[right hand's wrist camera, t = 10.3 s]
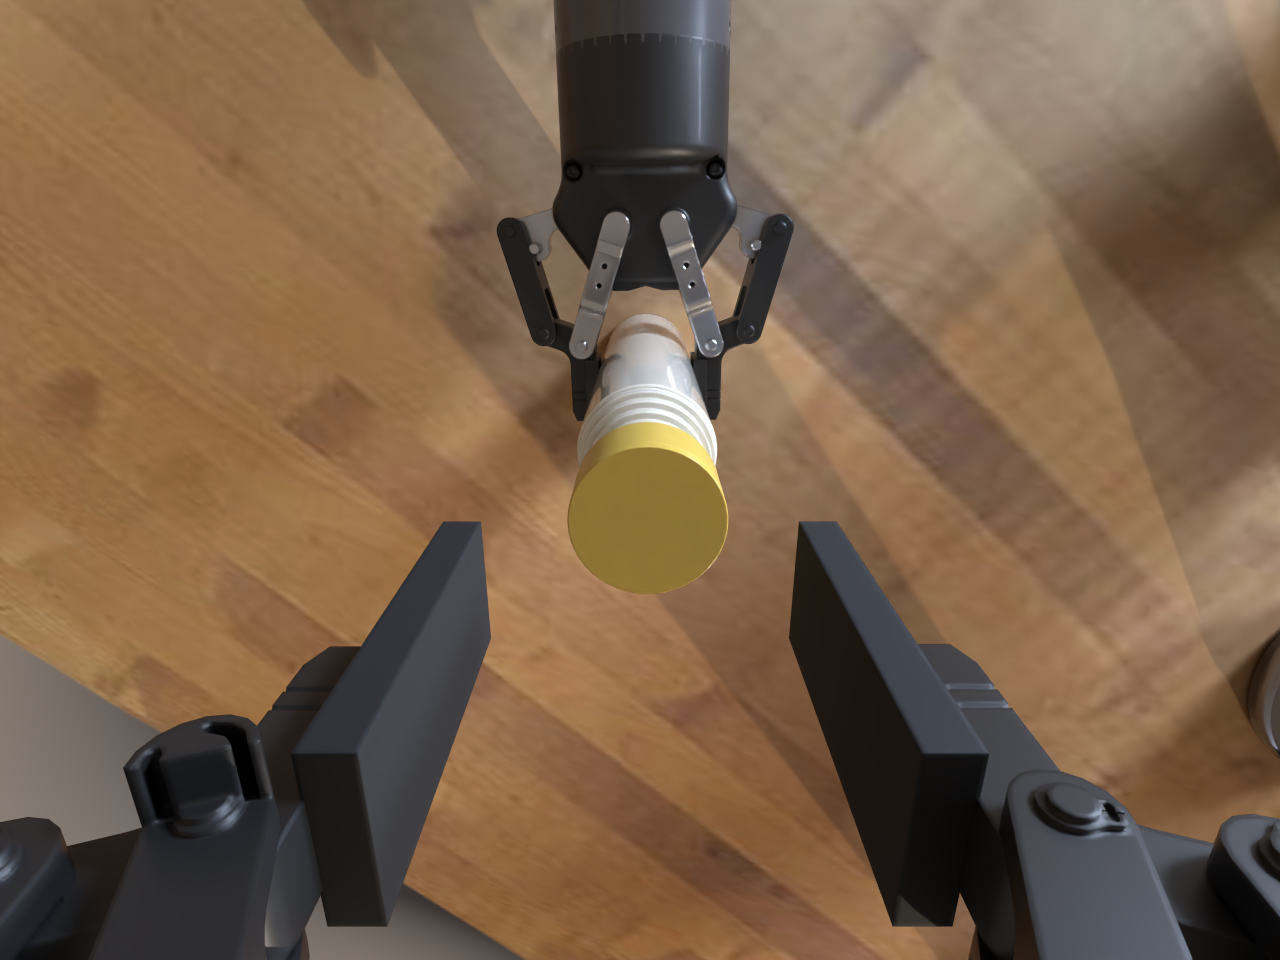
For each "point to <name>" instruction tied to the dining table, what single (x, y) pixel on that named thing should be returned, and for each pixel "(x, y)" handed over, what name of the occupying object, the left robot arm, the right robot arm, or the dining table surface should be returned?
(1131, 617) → the dining table surface
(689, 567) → the cap
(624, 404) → the bottle
